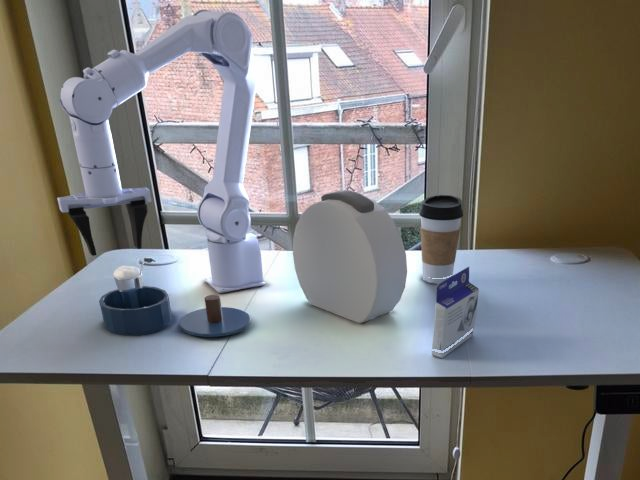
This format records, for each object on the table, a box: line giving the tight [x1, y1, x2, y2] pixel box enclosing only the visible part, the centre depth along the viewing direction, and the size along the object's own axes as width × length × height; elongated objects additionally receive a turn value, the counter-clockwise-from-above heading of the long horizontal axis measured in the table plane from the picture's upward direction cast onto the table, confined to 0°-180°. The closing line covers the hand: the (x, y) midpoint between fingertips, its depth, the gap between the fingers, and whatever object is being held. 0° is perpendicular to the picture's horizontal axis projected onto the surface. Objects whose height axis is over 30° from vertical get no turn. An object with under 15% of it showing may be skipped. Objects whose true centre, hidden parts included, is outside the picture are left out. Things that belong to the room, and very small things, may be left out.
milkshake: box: [113, 262, 145, 309], centre depth 124 cm, size 4×5×10 cm
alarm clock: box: [292, 189, 408, 324], centre depth 128 cm, size 21×8×20 cm, turn 47°
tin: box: [98, 285, 173, 336], centre depth 126 cm, size 11×11×4 cm
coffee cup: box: [418, 194, 464, 285], centre depth 142 cm, size 8×8×15 cm
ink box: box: [431, 266, 480, 359], centre depth 118 cm, size 12×2×12 cm, turn 148°
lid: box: [178, 294, 252, 338], centre depth 125 cm, size 12×12×5 cm
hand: (115, 250), depth 126 cm, fingers open, 7 cm apart
